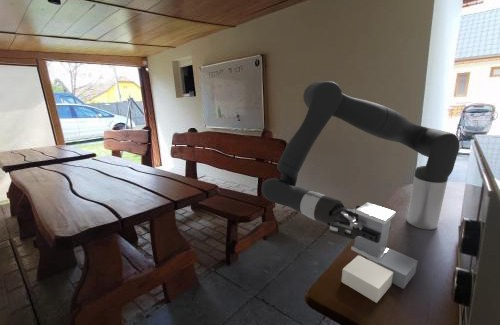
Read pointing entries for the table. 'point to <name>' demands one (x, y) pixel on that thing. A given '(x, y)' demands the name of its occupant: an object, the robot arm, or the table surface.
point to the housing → (377, 222)
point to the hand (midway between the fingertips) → (384, 234)
